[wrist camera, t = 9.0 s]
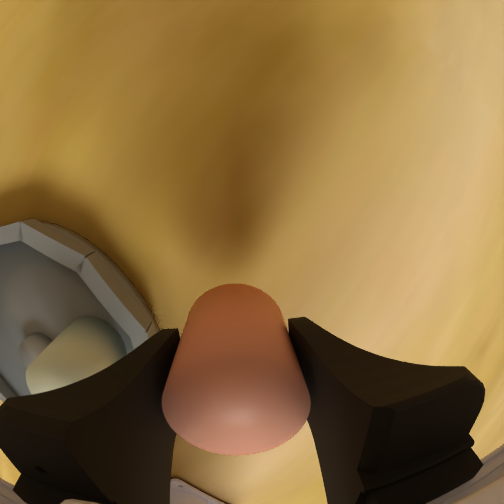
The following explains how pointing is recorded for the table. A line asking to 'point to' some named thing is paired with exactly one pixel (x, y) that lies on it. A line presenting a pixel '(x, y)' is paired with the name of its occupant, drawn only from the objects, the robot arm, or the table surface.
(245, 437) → the bead
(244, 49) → the table surface
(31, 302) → the groove tray
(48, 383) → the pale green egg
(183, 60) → the table surface
